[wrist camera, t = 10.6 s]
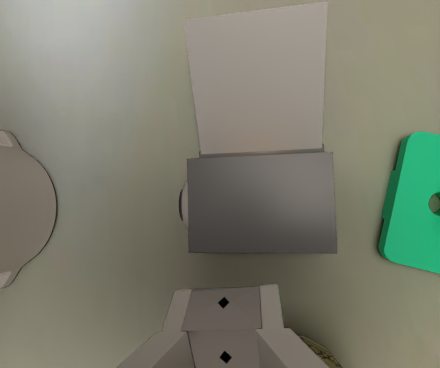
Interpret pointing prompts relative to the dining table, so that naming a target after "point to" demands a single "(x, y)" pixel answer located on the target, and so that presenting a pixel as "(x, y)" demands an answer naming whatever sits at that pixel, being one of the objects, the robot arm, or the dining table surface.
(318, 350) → the ceramic cup
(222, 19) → the side door
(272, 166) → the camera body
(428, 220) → the camera mount
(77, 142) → the dining table surface
